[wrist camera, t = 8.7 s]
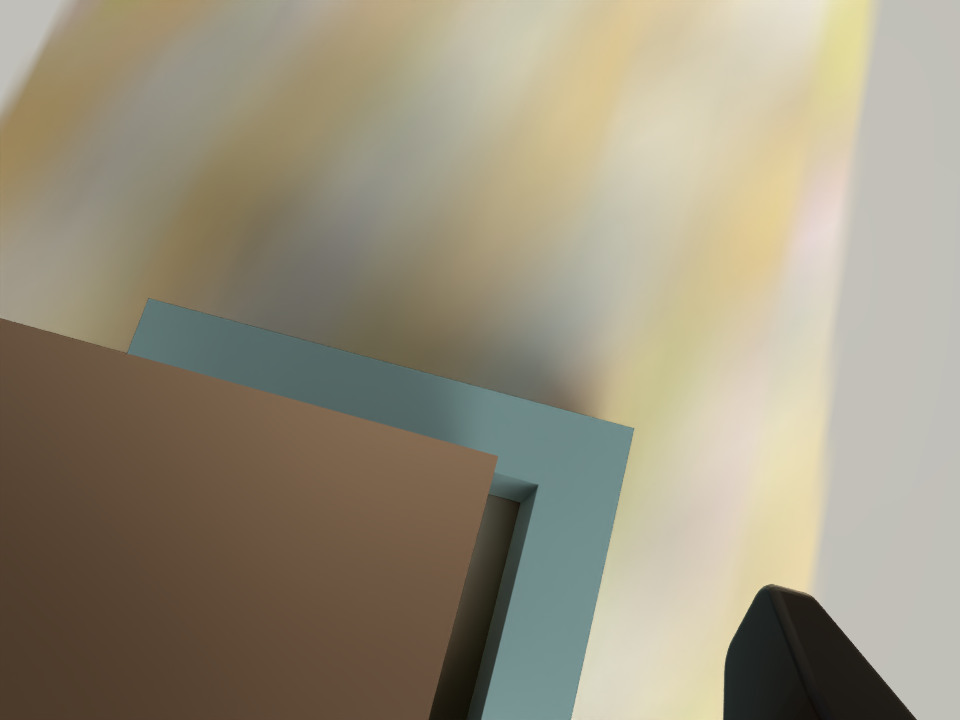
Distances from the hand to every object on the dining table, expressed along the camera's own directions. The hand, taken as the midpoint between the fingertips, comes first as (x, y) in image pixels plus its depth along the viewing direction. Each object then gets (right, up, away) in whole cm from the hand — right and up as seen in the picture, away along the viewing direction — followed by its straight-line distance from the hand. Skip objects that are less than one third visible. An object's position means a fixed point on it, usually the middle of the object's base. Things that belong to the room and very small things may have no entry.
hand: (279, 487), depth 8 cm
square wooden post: (-1, -3, +7) cm, 8 cm away
